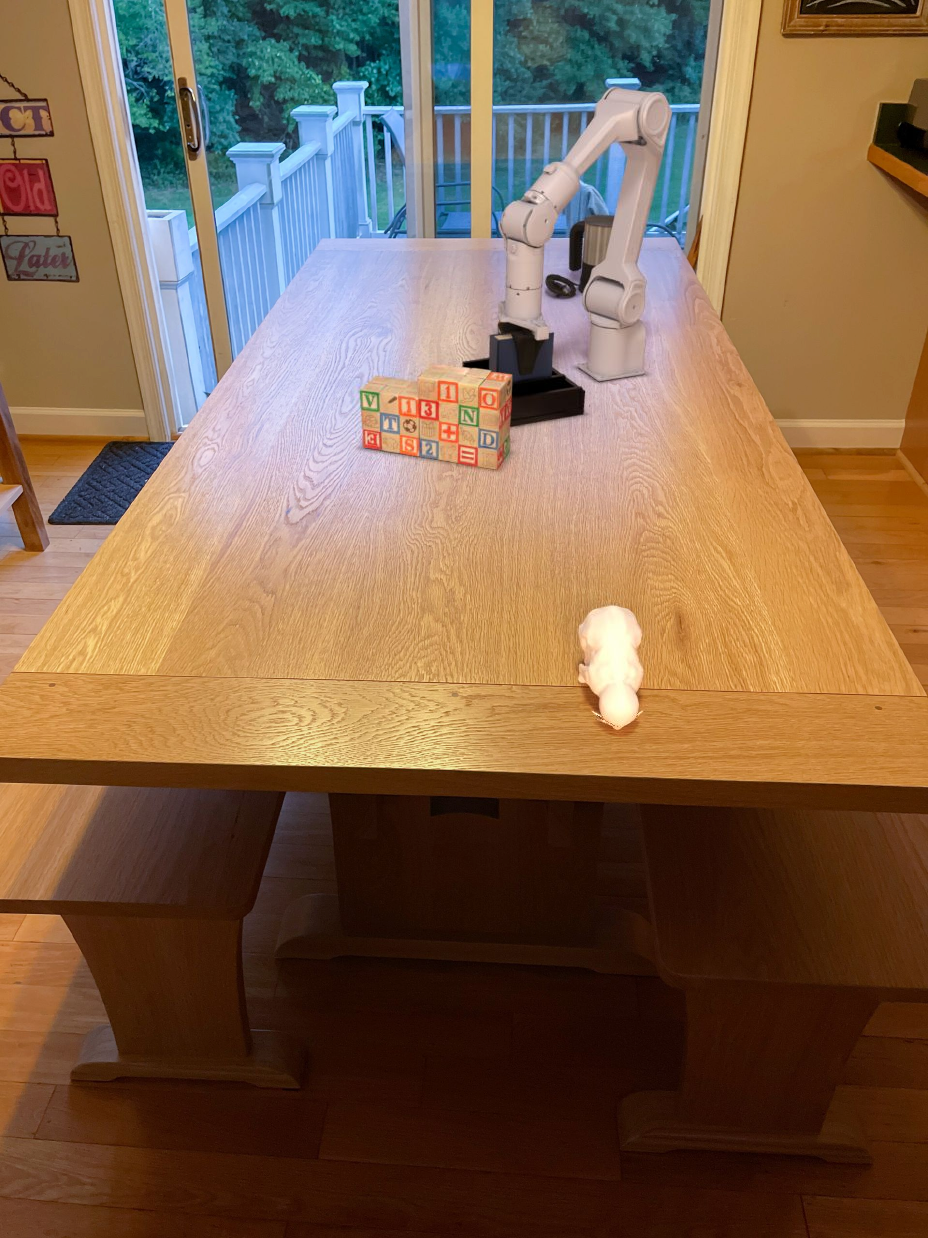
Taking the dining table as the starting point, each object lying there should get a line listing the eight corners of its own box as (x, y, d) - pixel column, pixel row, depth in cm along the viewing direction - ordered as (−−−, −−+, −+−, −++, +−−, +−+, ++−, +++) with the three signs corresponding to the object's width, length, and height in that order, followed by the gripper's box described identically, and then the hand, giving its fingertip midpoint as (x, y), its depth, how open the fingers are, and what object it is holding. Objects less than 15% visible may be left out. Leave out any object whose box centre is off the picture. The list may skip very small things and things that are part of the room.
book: (543, 374, 161) (545, 326, 157) (551, 380, 159) (554, 332, 155) (488, 382, 158) (489, 334, 154) (496, 389, 156) (497, 340, 151)
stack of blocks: (361, 448, 145) (357, 369, 138) (378, 432, 150) (374, 354, 143) (498, 470, 139) (500, 388, 132) (510, 452, 144) (513, 372, 137)
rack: (533, 375, 170) (534, 350, 167) (583, 414, 156) (585, 387, 153) (459, 386, 165) (459, 361, 163) (504, 427, 151) (505, 400, 149)
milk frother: (628, 288, 213) (635, 217, 205) (596, 306, 202) (602, 232, 194) (570, 278, 219) (575, 209, 211) (537, 295, 208) (540, 223, 200)
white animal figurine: (642, 596, 96) (663, 679, 87) (632, 659, 102) (651, 744, 93) (579, 596, 96) (593, 680, 87) (572, 659, 102) (585, 744, 92)
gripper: (481, 275, 154) (480, 358, 162) (520, 300, 143) (517, 388, 151) (521, 270, 156) (518, 353, 164) (563, 295, 145) (557, 382, 153)
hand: (520, 369), depth 158 cm, fingers closed on book, 3 cm apart
